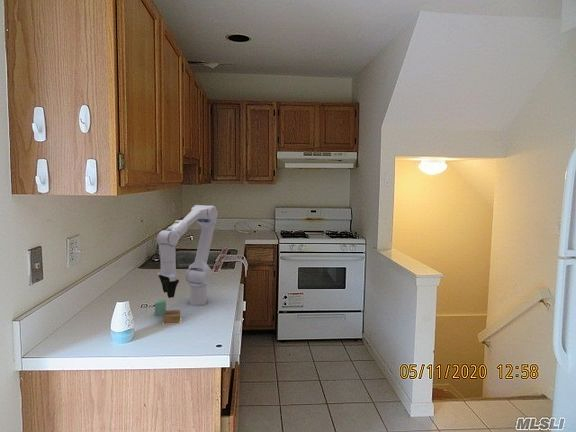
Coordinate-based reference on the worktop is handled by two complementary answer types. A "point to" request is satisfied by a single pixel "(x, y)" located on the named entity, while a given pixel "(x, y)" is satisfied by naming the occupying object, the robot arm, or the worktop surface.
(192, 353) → the worktop surface
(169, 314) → the walnut slab
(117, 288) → the worktop surface
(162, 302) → the teal block
